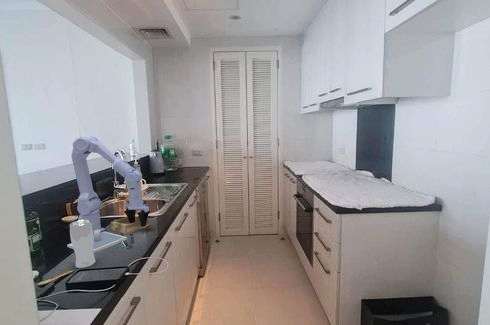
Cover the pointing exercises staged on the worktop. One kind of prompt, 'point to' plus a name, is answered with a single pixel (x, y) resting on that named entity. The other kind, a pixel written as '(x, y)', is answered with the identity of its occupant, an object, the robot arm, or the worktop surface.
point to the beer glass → (83, 242)
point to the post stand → (104, 240)
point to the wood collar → (127, 225)
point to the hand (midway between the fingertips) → (138, 225)
